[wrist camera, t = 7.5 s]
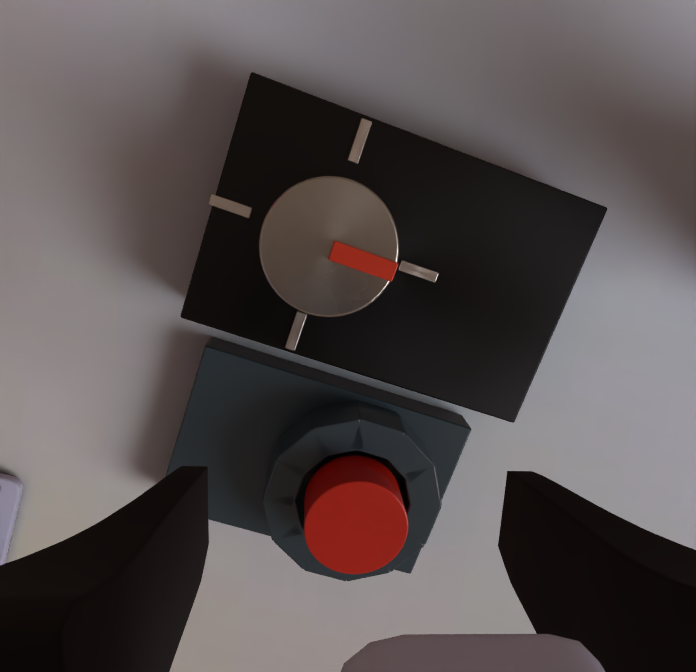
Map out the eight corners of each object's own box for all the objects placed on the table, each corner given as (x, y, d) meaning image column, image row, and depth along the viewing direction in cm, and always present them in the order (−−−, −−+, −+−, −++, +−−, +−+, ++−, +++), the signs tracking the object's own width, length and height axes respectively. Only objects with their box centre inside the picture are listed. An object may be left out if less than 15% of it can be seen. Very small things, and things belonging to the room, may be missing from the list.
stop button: (291, 526, 22) (289, 559, 20) (322, 442, 21) (323, 468, 19) (380, 550, 22) (387, 585, 20) (413, 469, 21) (423, 498, 19)
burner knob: (253, 275, 20) (239, 293, 16) (289, 161, 19) (283, 153, 15) (361, 311, 20) (372, 338, 17) (400, 203, 19) (422, 204, 16)
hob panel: (191, 303, 23) (175, 317, 20) (255, 85, 21) (247, 68, 18) (493, 399, 24) (515, 425, 22) (575, 206, 23) (610, 208, 20)
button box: (165, 487, 24) (142, 534, 21) (211, 336, 23) (194, 360, 20) (405, 553, 26) (419, 607, 22) (462, 415, 24) (486, 450, 21)
